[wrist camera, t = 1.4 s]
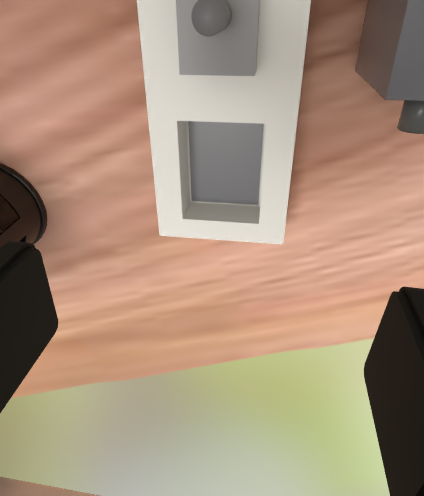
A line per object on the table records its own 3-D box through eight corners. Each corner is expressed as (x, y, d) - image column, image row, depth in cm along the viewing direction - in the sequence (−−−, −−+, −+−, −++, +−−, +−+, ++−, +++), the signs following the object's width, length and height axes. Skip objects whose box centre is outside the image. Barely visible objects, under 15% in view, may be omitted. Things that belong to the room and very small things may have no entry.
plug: (375, -39, 23) (421, -56, 15) (453, -41, 22) (540, -59, 15) (350, 97, 27) (376, 136, 20) (415, 99, 27) (467, 139, 19)
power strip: (149, -75, 23) (89, -108, 16) (315, -80, 22) (333, -119, 15) (171, 212, 34) (141, 272, 27) (282, 219, 33) (283, 284, 26)
